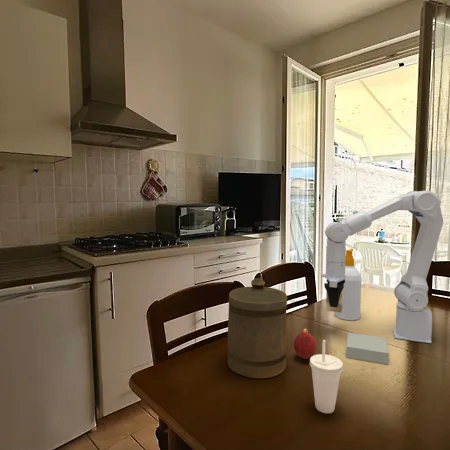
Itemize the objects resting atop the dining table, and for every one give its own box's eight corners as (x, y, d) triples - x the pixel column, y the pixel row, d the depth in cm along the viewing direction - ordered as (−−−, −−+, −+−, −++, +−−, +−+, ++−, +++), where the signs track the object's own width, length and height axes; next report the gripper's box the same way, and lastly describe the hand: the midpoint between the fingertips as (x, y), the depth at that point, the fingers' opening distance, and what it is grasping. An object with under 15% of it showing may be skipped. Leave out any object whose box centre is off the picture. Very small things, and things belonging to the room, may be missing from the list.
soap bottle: (362, 314, 121) (365, 249, 119) (357, 322, 113) (359, 252, 111) (338, 310, 126) (340, 247, 124) (331, 317, 118) (333, 250, 116)
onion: (316, 365, 84) (317, 334, 84) (293, 363, 86) (294, 332, 85) (315, 354, 90) (316, 326, 89) (293, 352, 91) (294, 324, 91)
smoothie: (304, 398, 71) (305, 334, 69) (333, 397, 71) (335, 333, 70) (315, 418, 64) (316, 348, 63) (347, 416, 65) (349, 346, 64)
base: (385, 348, 94) (386, 337, 94) (388, 364, 85) (388, 353, 85) (347, 342, 98) (348, 332, 98) (346, 357, 89) (346, 346, 88)
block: (342, 308, 106) (342, 289, 106) (341, 312, 102) (341, 293, 101) (327, 306, 108) (327, 288, 107) (326, 310, 104) (326, 291, 103)
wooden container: (290, 355, 90) (291, 274, 88) (280, 384, 76) (282, 289, 74) (237, 347, 95) (237, 270, 93) (219, 372, 81) (219, 283, 79)
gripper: (324, 256, 112) (323, 296, 113) (319, 264, 98) (318, 309, 100) (347, 258, 109) (345, 298, 110) (344, 266, 96) (343, 313, 97)
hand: (334, 304), depth 105 cm, fingers closed on block, 4 cm apart
